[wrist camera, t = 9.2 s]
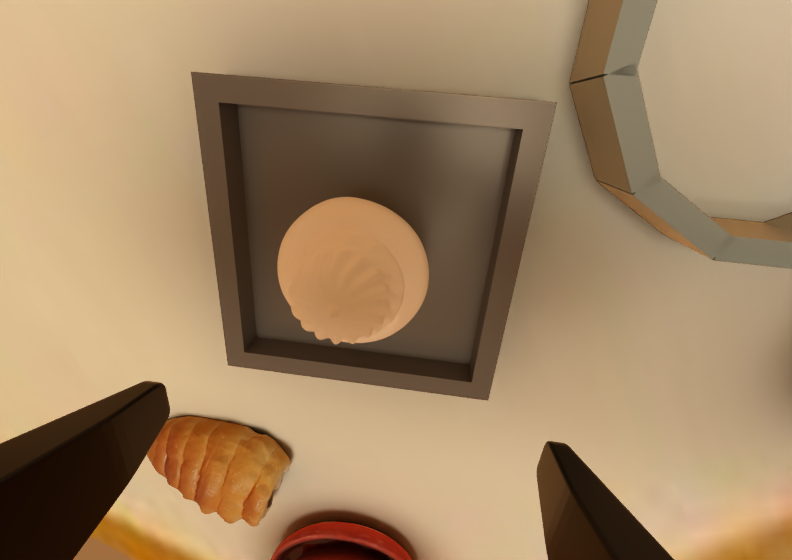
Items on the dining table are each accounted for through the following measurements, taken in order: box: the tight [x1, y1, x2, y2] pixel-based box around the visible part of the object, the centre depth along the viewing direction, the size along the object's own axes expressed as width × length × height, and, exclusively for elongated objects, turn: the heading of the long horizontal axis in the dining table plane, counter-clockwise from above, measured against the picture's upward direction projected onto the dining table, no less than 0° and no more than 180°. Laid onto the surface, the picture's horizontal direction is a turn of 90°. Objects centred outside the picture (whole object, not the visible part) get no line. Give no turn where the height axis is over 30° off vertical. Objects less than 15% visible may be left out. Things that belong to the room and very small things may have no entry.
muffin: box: [277, 197, 429, 345], centre depth 15 cm, size 6×6×7 cm
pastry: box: [147, 416, 291, 526], centre depth 25 cm, size 9×7×4 cm
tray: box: [191, 72, 557, 400], centre depth 18 cm, size 14×14×2 cm
